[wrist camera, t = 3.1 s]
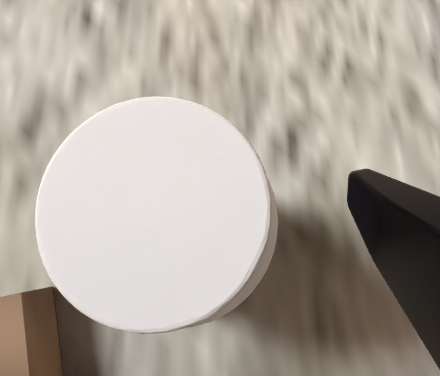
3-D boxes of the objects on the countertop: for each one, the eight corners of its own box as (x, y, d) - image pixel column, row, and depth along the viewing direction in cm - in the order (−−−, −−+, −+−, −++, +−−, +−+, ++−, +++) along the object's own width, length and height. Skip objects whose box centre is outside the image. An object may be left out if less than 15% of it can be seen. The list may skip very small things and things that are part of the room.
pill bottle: (269, 187, 17) (326, 99, 7) (245, 309, 16) (272, 405, 6) (153, 163, 17) (52, 47, 7) (123, 281, 16) (-40, 329, 6)
